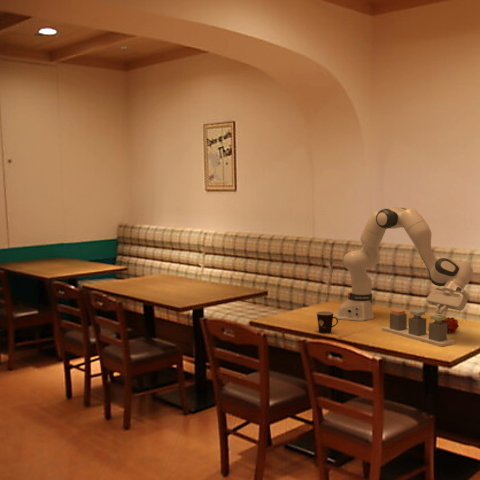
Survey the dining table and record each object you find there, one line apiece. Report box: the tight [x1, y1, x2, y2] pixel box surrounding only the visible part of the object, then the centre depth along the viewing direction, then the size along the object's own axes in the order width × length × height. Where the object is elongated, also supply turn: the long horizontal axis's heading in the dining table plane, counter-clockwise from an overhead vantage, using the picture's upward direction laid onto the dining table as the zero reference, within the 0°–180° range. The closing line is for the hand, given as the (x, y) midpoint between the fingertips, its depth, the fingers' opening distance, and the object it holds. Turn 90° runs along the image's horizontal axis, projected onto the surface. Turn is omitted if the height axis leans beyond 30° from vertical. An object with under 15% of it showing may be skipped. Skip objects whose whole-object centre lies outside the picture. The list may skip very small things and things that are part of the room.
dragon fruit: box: [442, 316, 460, 334], centre depth 318 cm, size 8×8×12 cm
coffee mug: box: [316, 310, 339, 334], centre depth 321 cm, size 12×9×10 cm
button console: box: [381, 313, 456, 348], centre depth 310 cm, size 38×10×10 cm, turn 33°
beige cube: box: [409, 309, 426, 319], centre depth 309 cm, size 5×5×5 cm
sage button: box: [430, 313, 447, 325], centre depth 299 cm, size 5×5×5 cm
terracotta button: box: [390, 308, 406, 315], centre depth 320 cm, size 5×5×5 cm
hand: (438, 313), depth 298 cm, fingers closed
